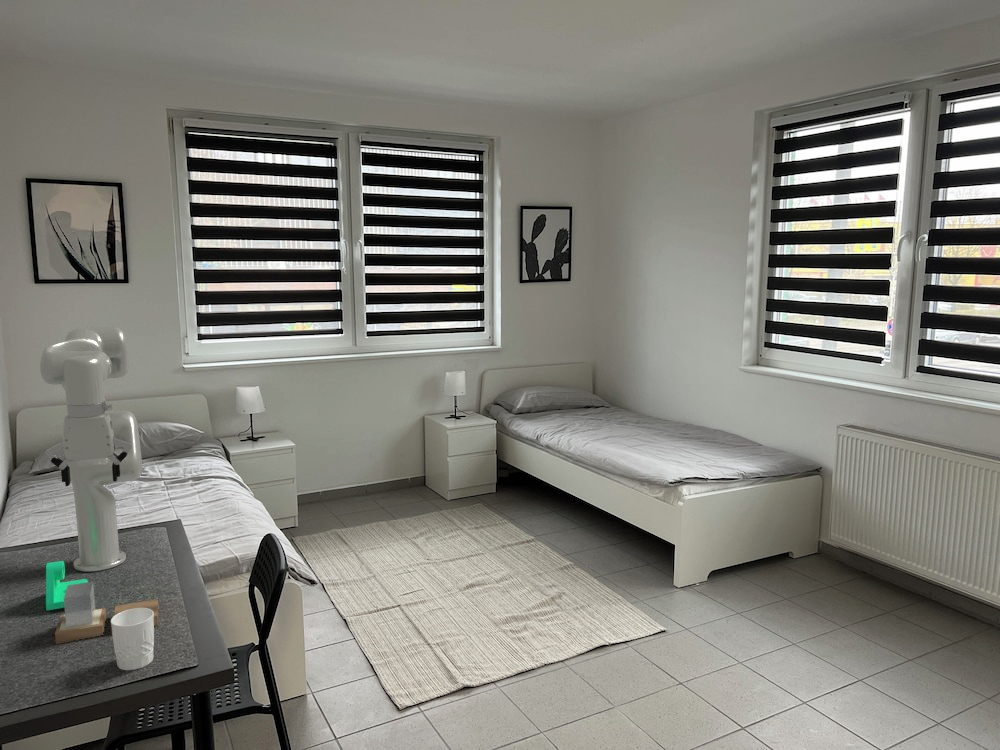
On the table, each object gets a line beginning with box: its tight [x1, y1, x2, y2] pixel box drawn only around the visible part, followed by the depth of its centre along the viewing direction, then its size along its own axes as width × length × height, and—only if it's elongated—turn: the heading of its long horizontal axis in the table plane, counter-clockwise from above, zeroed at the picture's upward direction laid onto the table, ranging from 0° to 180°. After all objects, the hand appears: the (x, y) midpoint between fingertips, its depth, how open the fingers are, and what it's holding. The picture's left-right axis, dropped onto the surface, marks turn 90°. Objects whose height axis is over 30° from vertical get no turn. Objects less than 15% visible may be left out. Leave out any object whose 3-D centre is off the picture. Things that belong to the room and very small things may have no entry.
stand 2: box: [113, 598, 160, 627], centre depth 167 cm, size 9×9×2 cm
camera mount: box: [45, 560, 89, 611], centre depth 176 cm, size 12×8×10 cm, turn 25°
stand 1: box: [54, 607, 107, 645], centre depth 162 cm, size 9×9×3 cm
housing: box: [64, 581, 96, 628], centre depth 161 cm, size 7×5×7 cm
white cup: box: [110, 608, 155, 671], centre depth 149 cm, size 8×8×10 cm
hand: (92, 482), depth 168 cm, fingers open, 9 cm apart
